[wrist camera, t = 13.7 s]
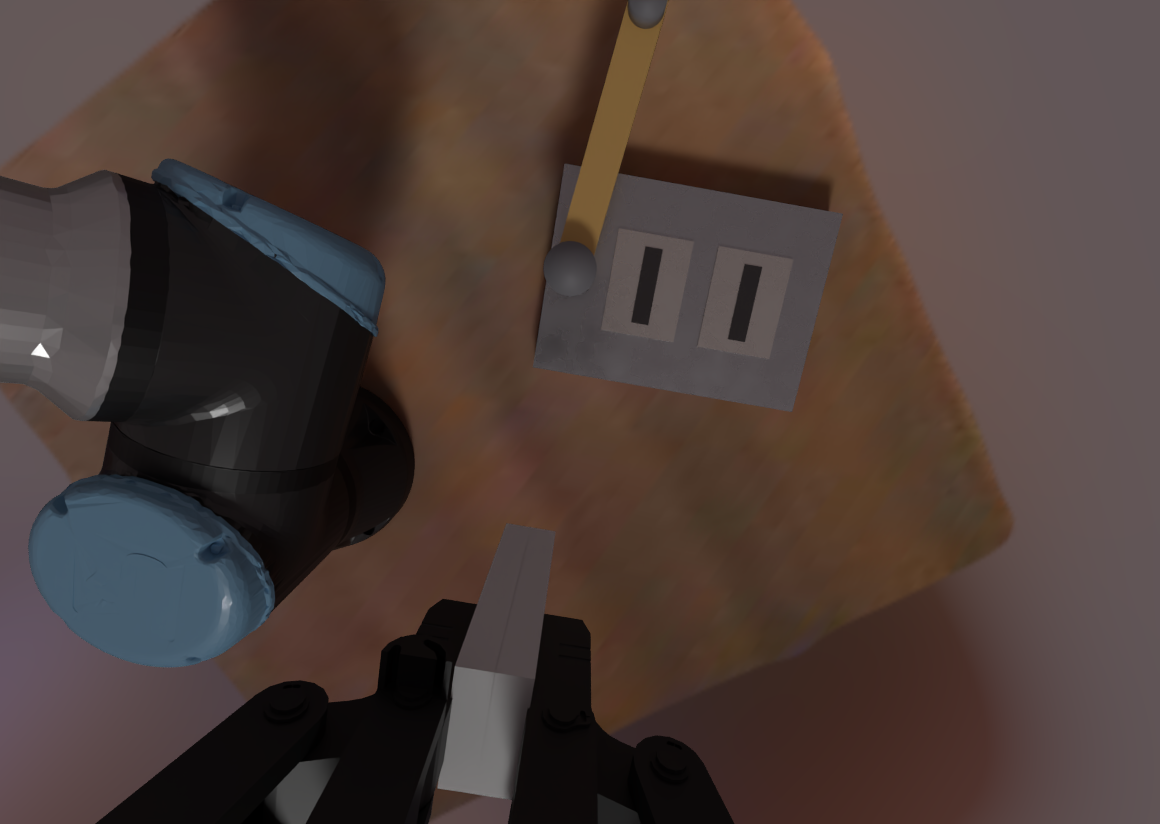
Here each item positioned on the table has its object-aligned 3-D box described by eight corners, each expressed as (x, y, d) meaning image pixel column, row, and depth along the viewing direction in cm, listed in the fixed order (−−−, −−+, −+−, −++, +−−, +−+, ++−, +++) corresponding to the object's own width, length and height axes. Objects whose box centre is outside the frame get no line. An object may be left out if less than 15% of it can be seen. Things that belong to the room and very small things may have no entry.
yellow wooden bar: (587, 302, 42) (587, 302, 37) (542, 288, 42) (537, 286, 37) (671, 20, 38) (683, -18, 33) (622, 3, 38) (626, -37, 33)
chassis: (535, 363, 48) (530, 370, 43) (565, 170, 45) (563, 156, 40) (781, 405, 48) (801, 417, 44) (829, 218, 45) (855, 209, 41)
